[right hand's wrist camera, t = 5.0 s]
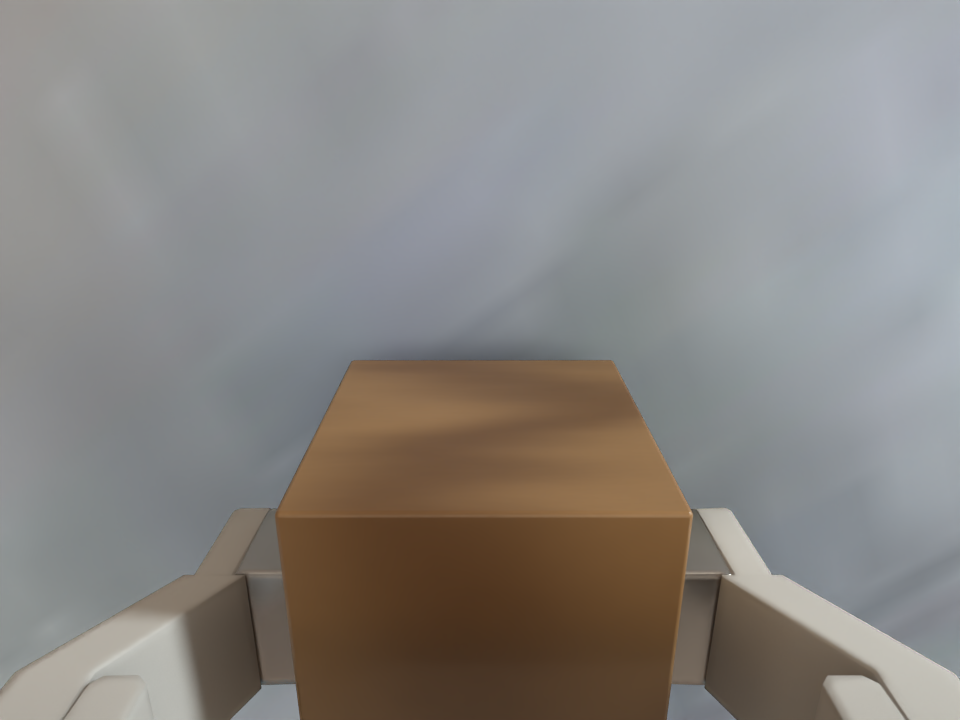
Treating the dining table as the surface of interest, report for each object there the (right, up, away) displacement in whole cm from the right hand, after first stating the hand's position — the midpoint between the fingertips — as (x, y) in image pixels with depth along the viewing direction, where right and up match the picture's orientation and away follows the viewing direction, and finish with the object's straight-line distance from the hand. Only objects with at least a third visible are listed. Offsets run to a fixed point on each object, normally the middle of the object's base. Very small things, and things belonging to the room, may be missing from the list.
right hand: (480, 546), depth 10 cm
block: (0, +1, +2) cm, 2 cm away
